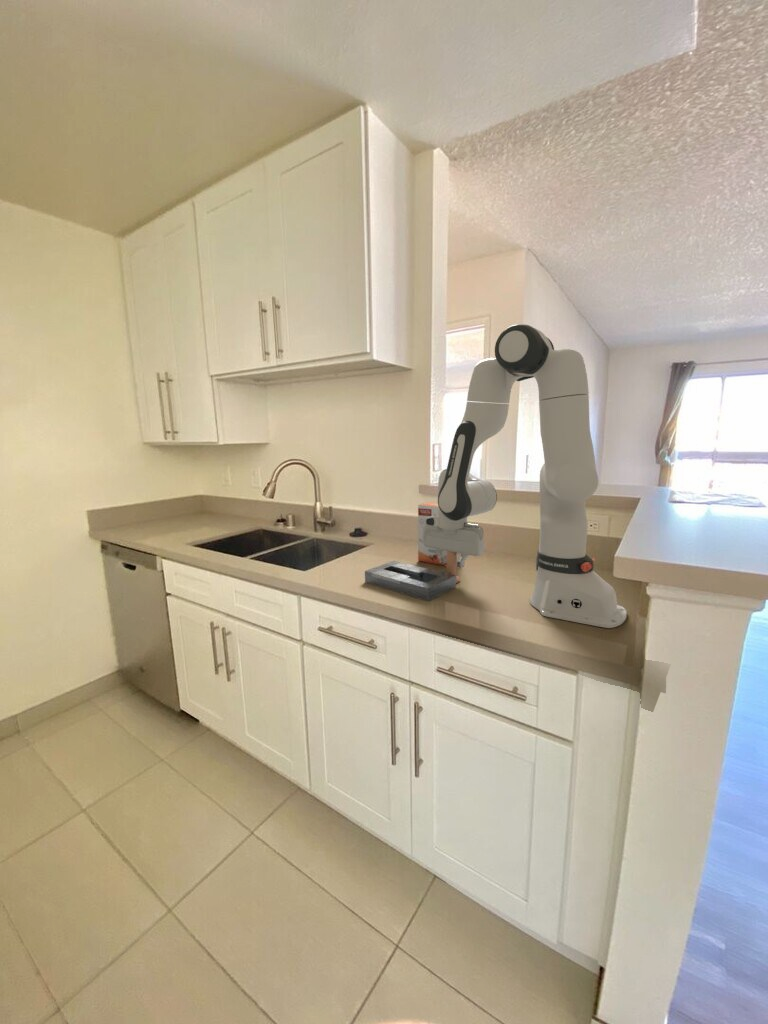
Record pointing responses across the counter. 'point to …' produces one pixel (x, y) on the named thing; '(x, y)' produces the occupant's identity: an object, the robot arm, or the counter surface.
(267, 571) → the counter surface
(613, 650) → the counter surface
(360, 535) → the counter surface
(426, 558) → the cracker box
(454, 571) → the peg
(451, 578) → the keyhole board
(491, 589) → the counter surface
